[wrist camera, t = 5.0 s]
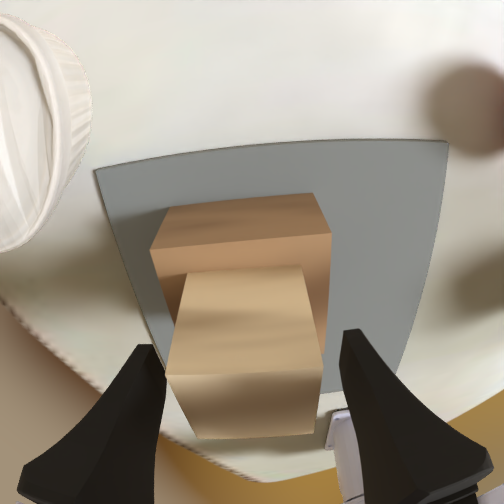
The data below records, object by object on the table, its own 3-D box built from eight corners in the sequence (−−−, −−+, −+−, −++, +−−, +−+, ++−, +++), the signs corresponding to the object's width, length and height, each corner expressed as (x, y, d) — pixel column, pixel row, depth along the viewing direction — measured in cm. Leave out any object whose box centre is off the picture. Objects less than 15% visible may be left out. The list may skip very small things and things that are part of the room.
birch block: (299, 341, 15) (313, 433, 11) (206, 347, 15) (197, 438, 11) (300, 264, 13) (323, 366, 8) (187, 272, 13) (164, 374, 9)
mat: (391, 378, 25) (392, 381, 24) (183, 398, 25) (183, 402, 25) (445, 140, 14) (449, 142, 14) (98, 168, 15) (95, 171, 14)
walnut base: (312, 302, 19) (324, 353, 16) (196, 312, 19) (188, 363, 16) (312, 192, 15) (331, 233, 12) (169, 206, 16) (149, 249, 12)
